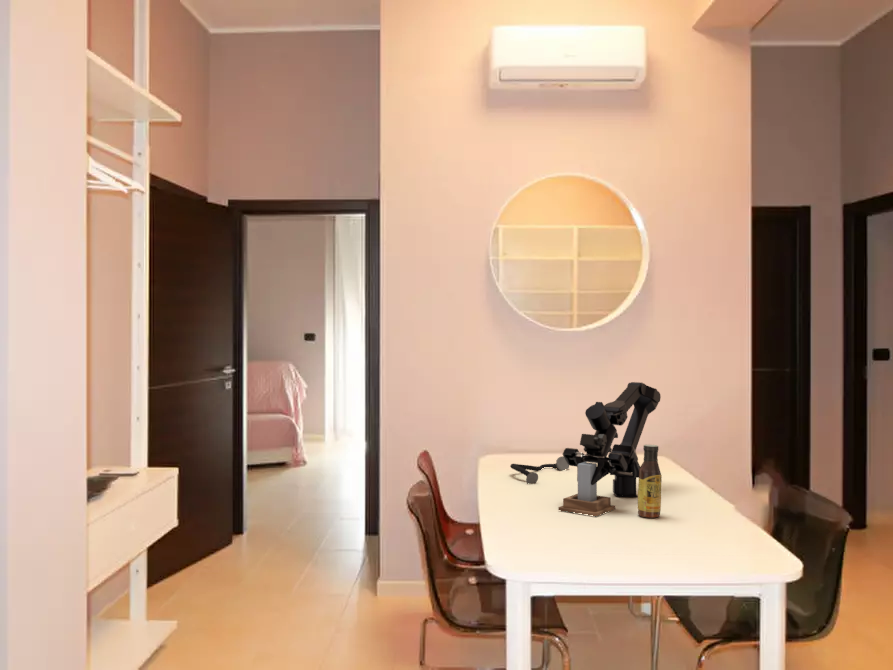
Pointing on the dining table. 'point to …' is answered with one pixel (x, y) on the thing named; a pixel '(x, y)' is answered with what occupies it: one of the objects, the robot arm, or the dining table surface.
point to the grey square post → (586, 482)
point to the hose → (533, 477)
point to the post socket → (587, 505)
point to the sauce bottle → (649, 484)
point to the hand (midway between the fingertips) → (584, 483)
